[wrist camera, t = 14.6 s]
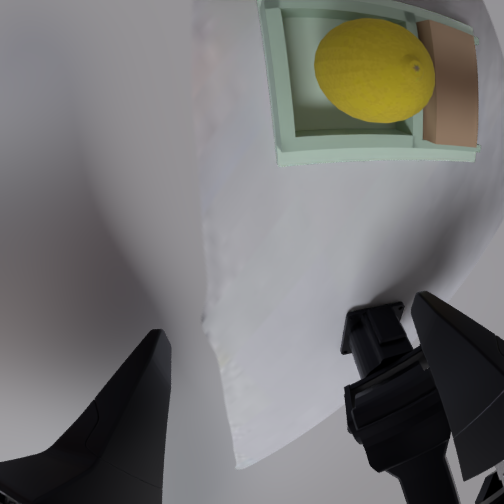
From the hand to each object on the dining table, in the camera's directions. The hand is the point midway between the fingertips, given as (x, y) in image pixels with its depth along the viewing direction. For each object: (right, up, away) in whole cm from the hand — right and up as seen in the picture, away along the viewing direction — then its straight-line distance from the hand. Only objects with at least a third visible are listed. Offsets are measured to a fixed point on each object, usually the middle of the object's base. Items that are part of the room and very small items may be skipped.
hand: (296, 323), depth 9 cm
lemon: (+4, +13, +5) cm, 15 cm away
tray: (+8, +14, +6) cm, 17 cm away
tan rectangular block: (+11, +14, +4) cm, 18 cm away
